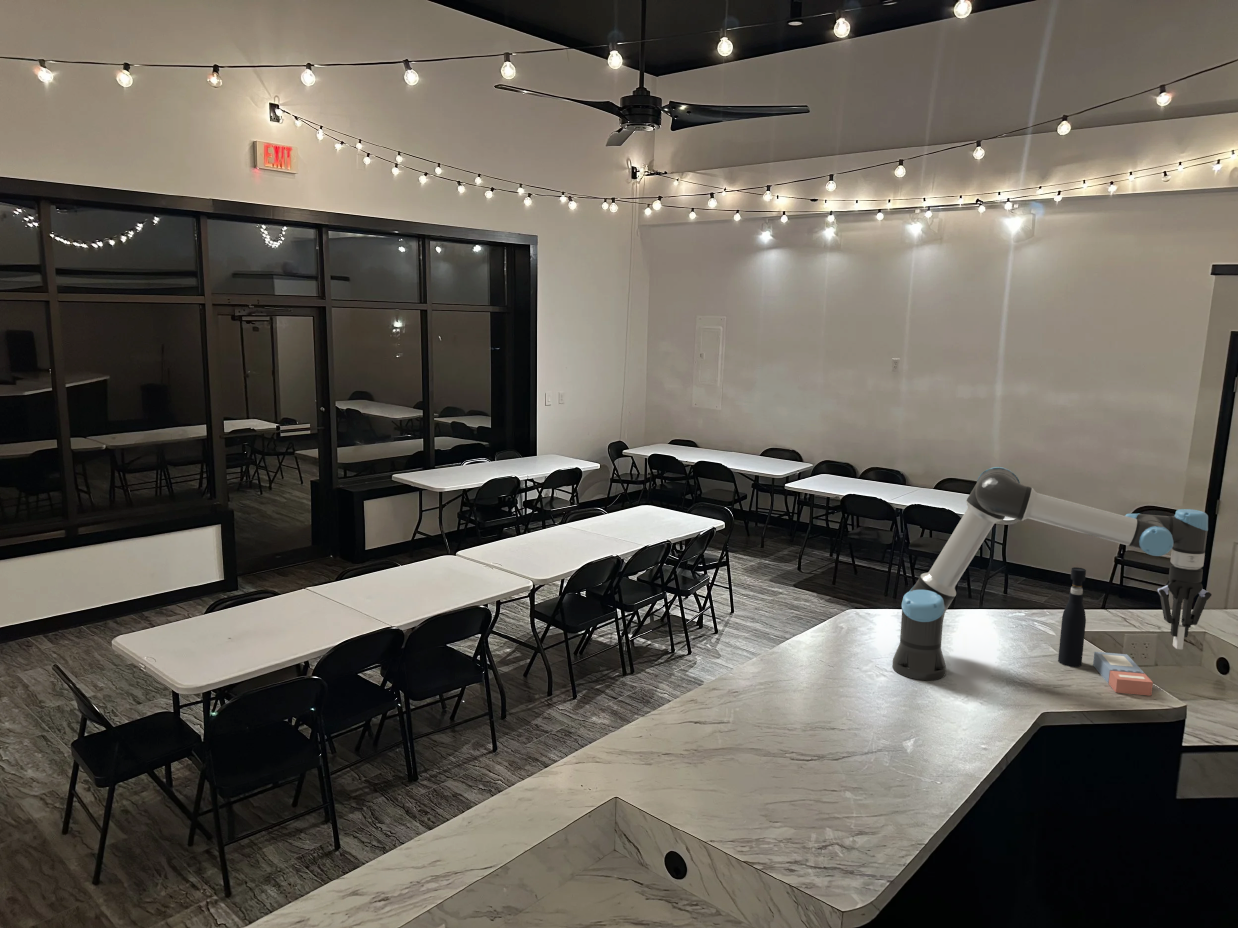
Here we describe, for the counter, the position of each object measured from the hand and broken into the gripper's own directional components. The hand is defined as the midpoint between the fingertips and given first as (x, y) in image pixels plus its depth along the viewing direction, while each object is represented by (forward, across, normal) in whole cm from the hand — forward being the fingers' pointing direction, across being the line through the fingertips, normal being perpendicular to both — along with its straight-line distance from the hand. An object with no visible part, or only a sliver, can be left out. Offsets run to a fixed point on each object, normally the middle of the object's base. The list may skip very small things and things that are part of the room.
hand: (1177, 647), depth 230 cm
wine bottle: (+14, -22, +17) cm, 31 cm away
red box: (+14, -11, 0) cm, 18 cm away
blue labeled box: (+14, -11, +10) cm, 20 cm away
